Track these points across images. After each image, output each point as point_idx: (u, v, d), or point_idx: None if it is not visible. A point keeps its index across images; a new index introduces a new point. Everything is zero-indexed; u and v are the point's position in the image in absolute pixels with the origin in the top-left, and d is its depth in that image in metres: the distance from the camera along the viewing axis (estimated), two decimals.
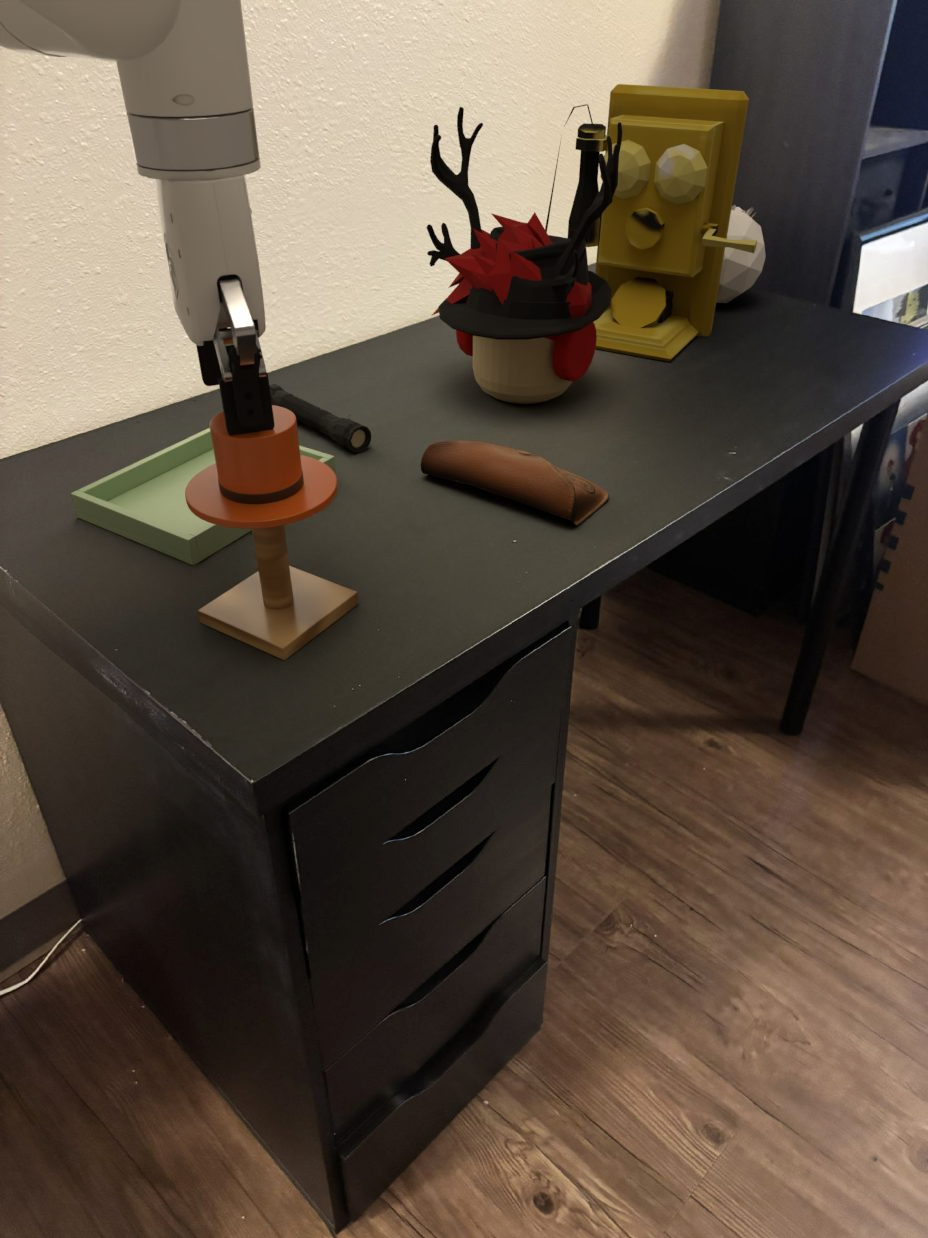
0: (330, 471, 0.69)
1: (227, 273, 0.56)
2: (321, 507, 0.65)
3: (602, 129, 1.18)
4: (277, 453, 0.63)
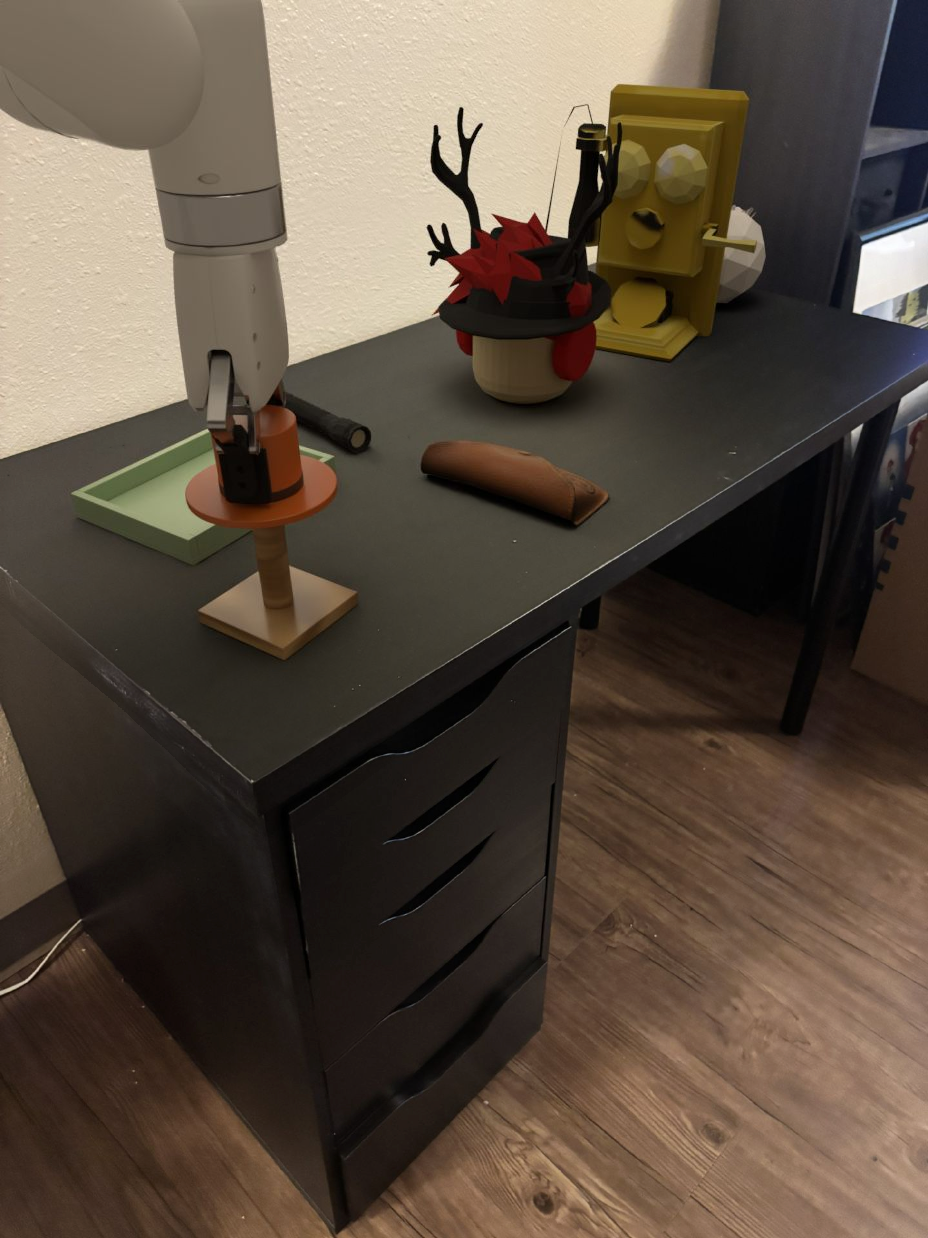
0: (330, 471, 0.69)
1: (218, 348, 0.56)
2: (321, 507, 0.65)
3: (602, 129, 1.18)
4: (276, 453, 0.63)
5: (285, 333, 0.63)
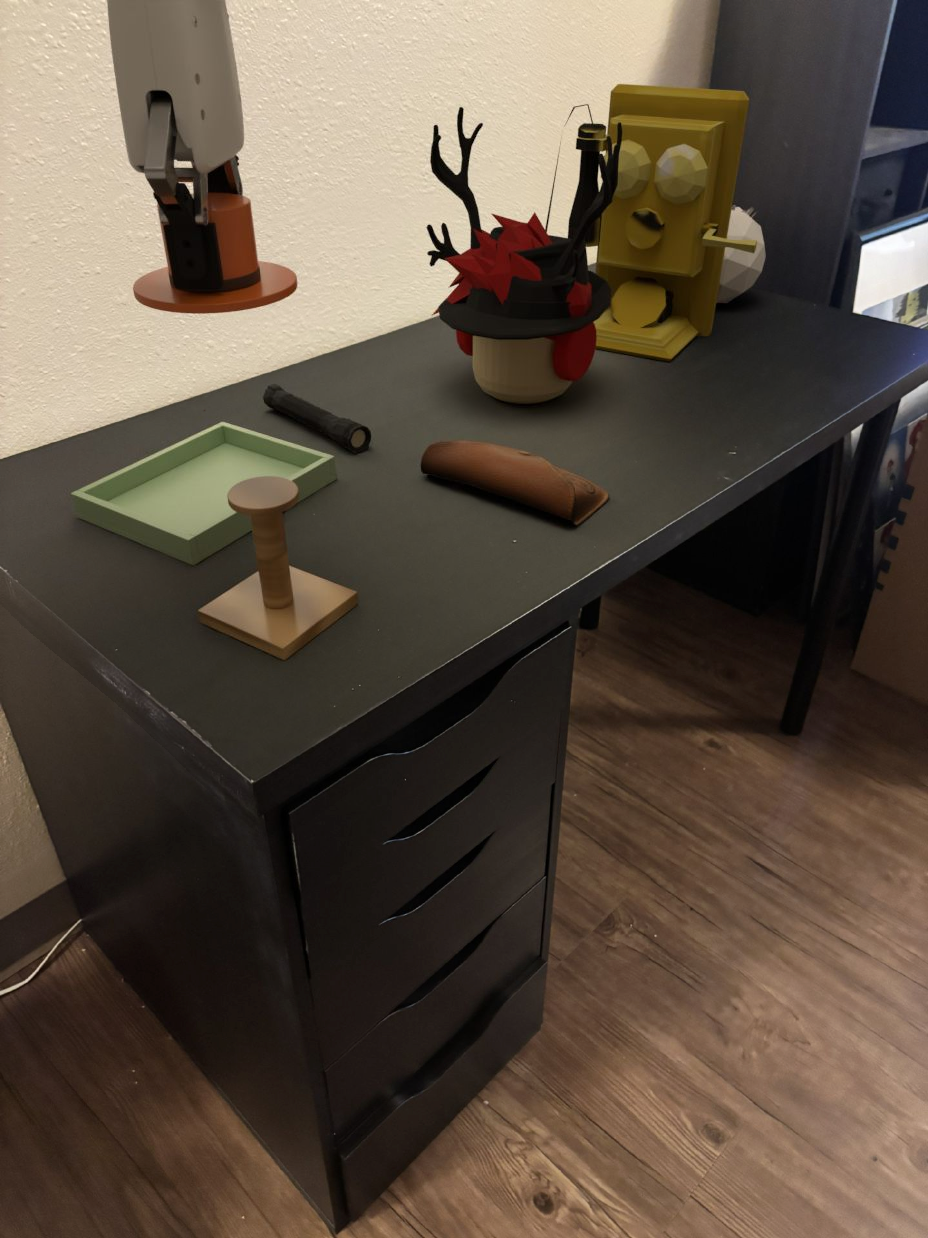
0: (290, 271, 0.64)
1: (158, 88, 0.52)
2: (277, 297, 0.60)
3: (602, 129, 1.18)
4: (228, 232, 0.59)
5: (238, 106, 0.59)
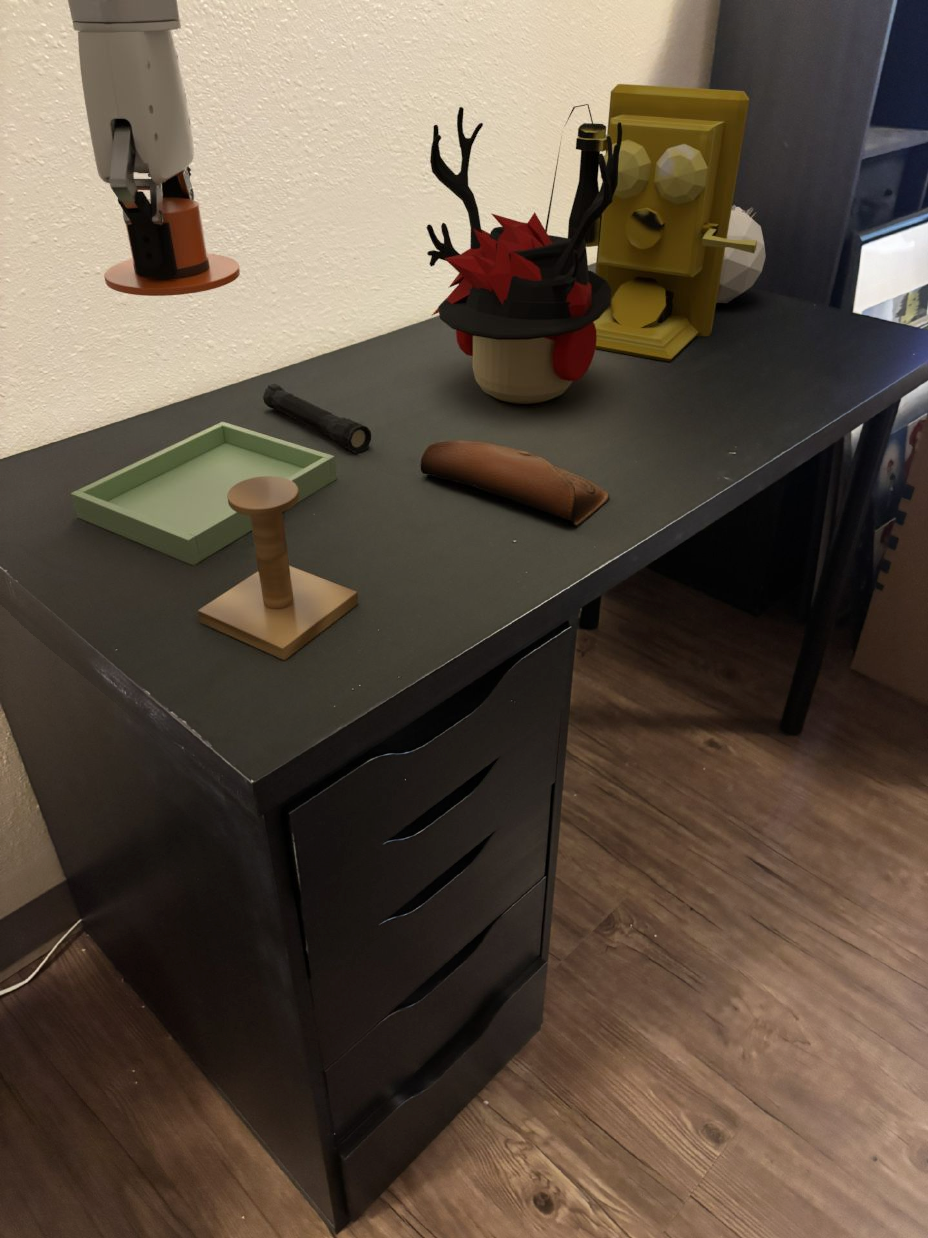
0: (234, 262, 0.78)
1: (120, 117, 0.66)
2: (221, 282, 0.74)
3: (602, 129, 1.18)
4: (180, 230, 0.72)
5: (188, 127, 0.73)
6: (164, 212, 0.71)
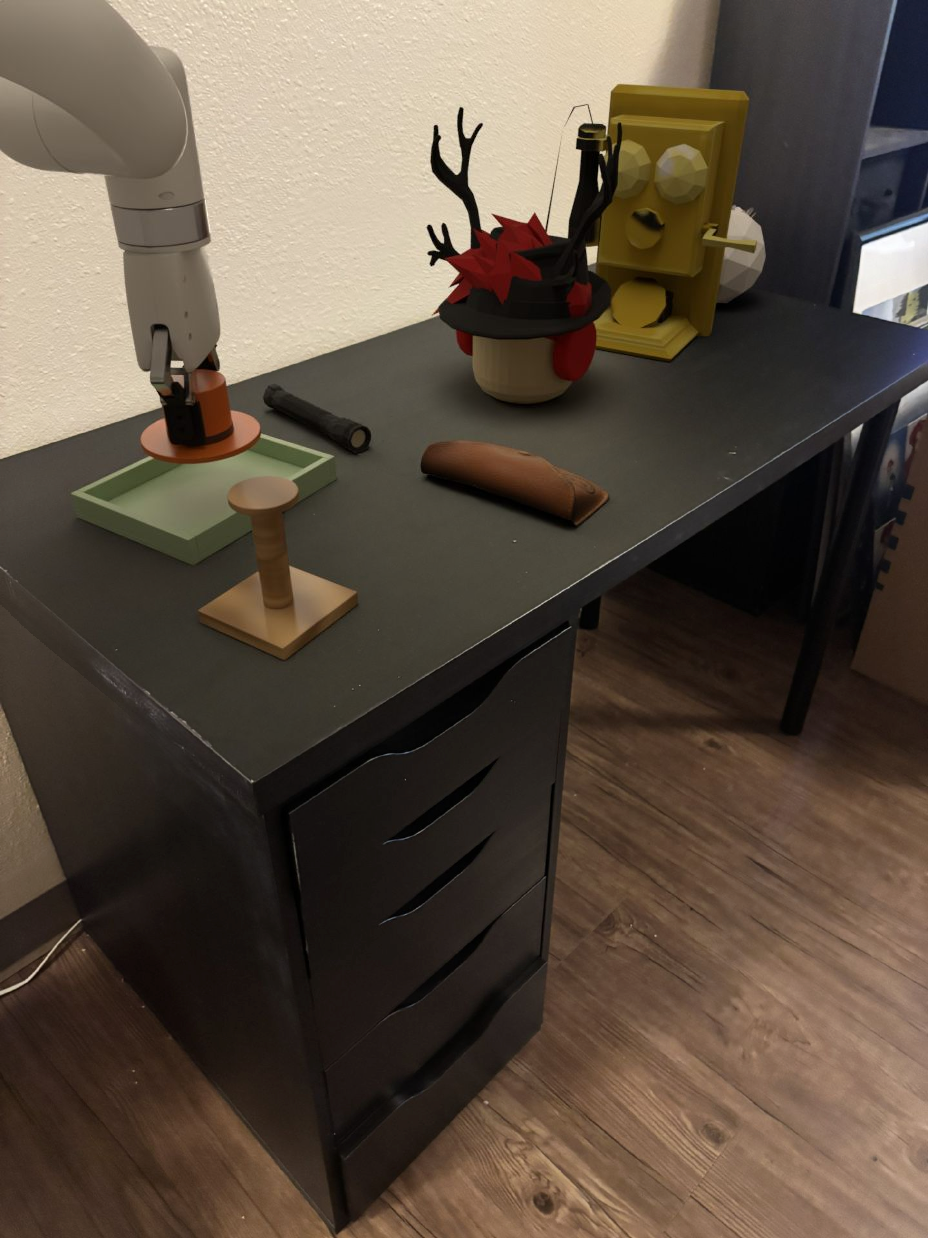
0: (256, 422, 0.87)
1: (159, 322, 0.75)
2: (245, 448, 0.83)
3: (602, 129, 1.18)
4: (209, 405, 0.82)
5: (215, 313, 0.82)
6: (195, 391, 0.81)
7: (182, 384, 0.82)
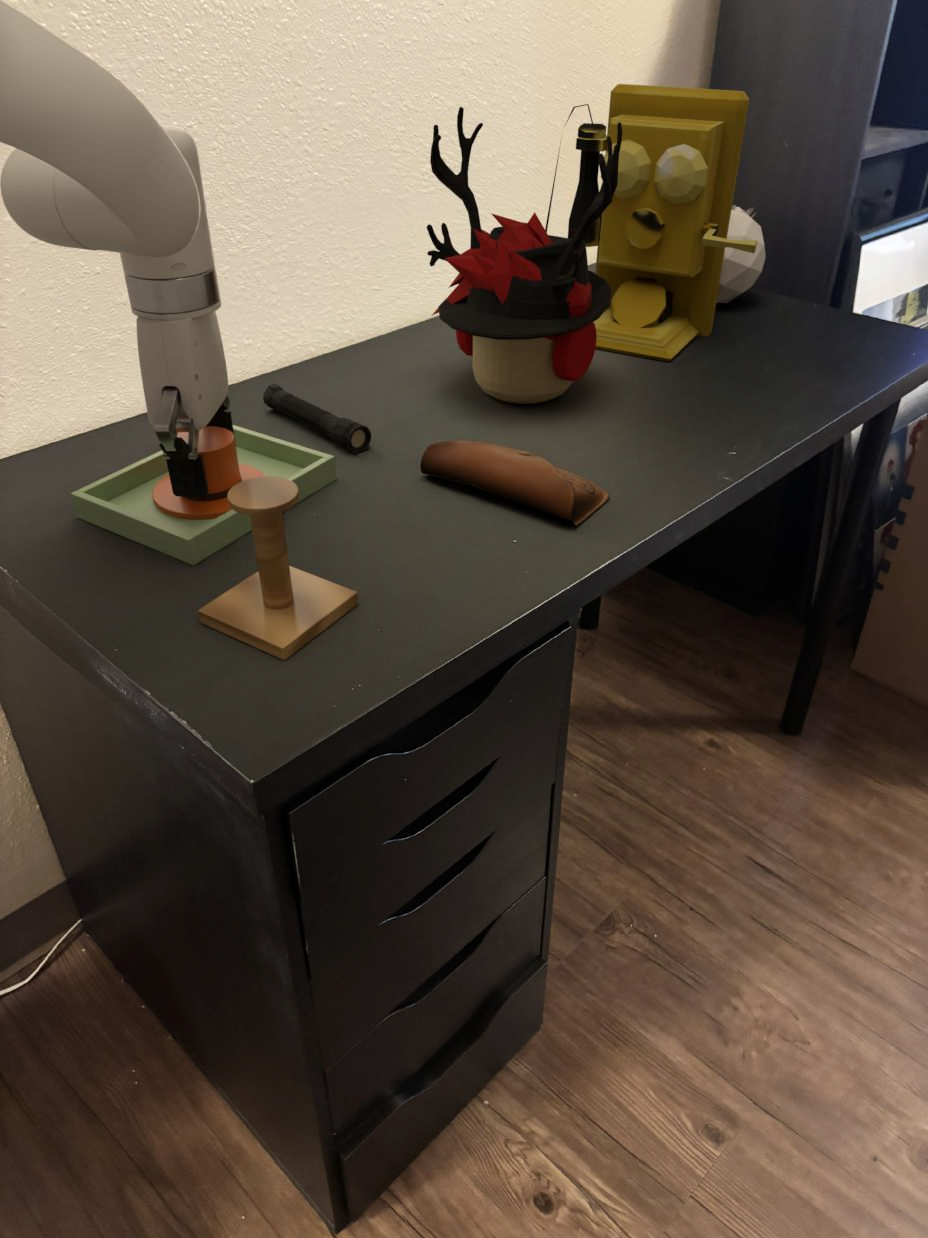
0: None
1: (170, 384, 0.78)
2: None
3: (602, 129, 1.18)
4: (219, 463, 0.85)
5: (224, 371, 0.85)
6: (205, 451, 0.84)
7: None
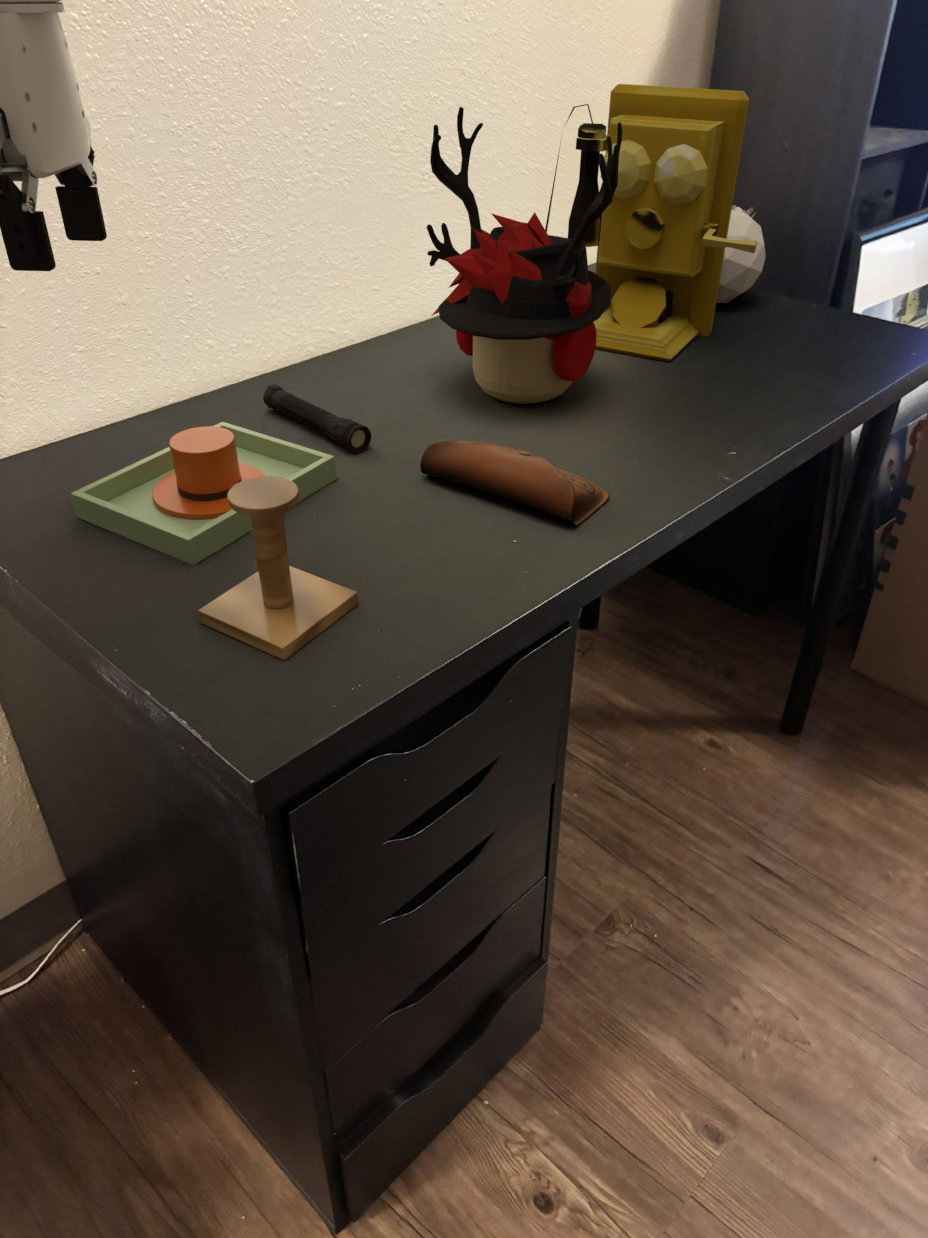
0: None
1: None
2: None
3: (602, 129, 1.18)
4: (219, 463, 0.85)
5: (80, 121, 0.68)
6: (205, 451, 0.84)
7: (193, 442, 0.85)
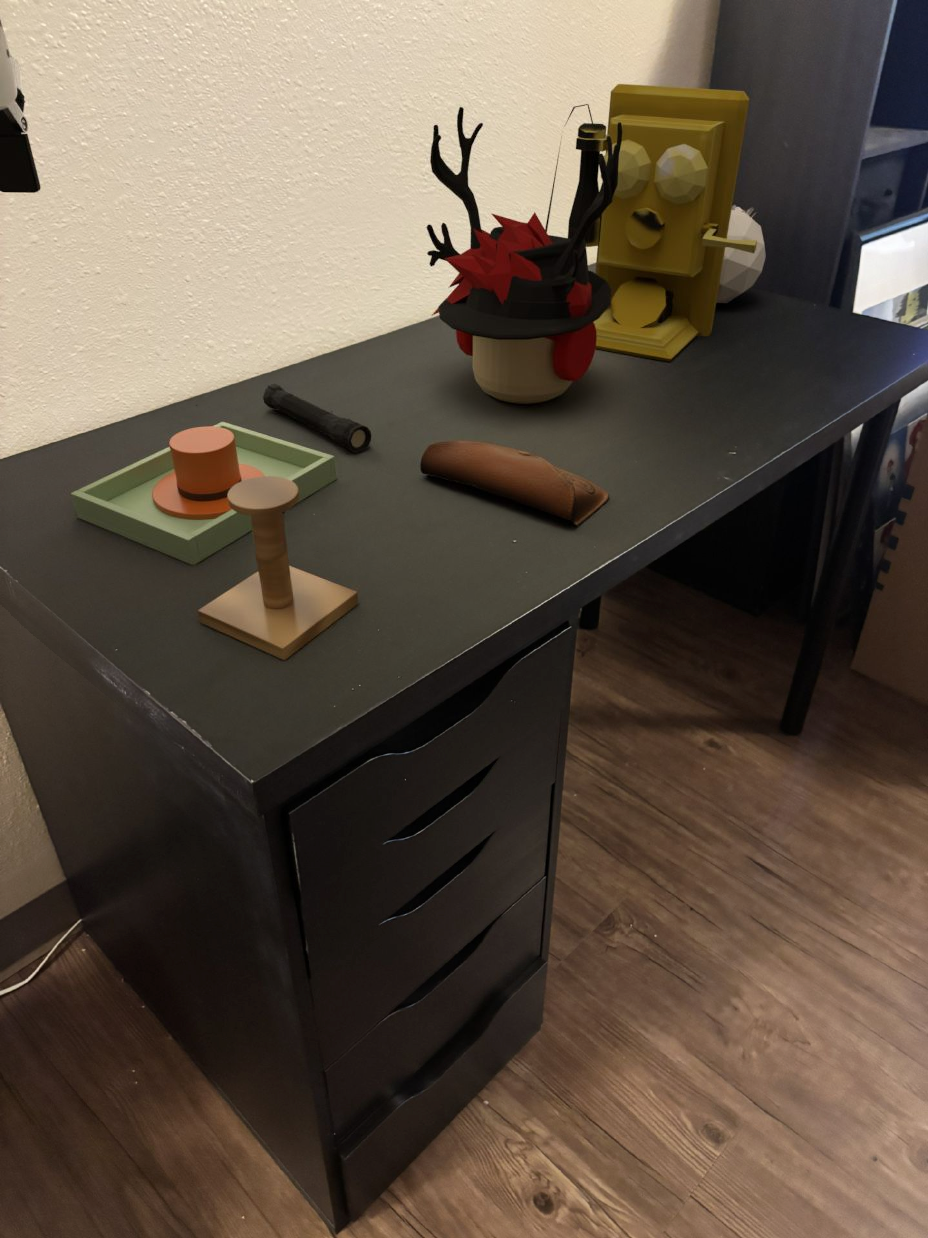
0: None
1: None
2: None
3: (602, 129, 1.18)
4: (219, 463, 0.85)
5: (4, 60, 0.64)
6: (205, 451, 0.84)
7: (193, 442, 0.85)
